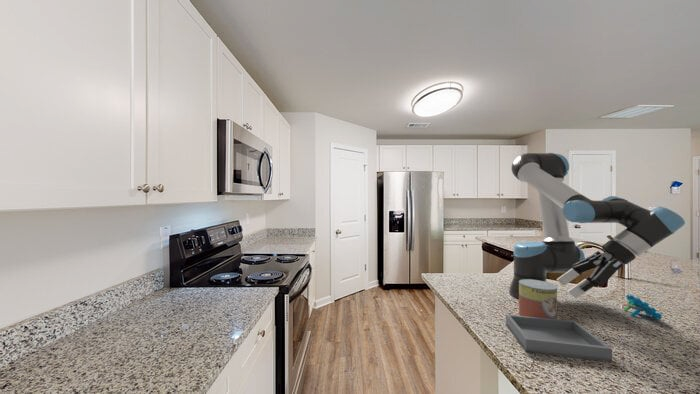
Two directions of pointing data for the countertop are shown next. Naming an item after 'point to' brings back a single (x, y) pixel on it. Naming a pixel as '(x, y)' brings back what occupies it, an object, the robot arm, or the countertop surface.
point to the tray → (557, 338)
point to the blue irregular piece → (641, 307)
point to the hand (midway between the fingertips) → (565, 288)
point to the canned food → (537, 299)
